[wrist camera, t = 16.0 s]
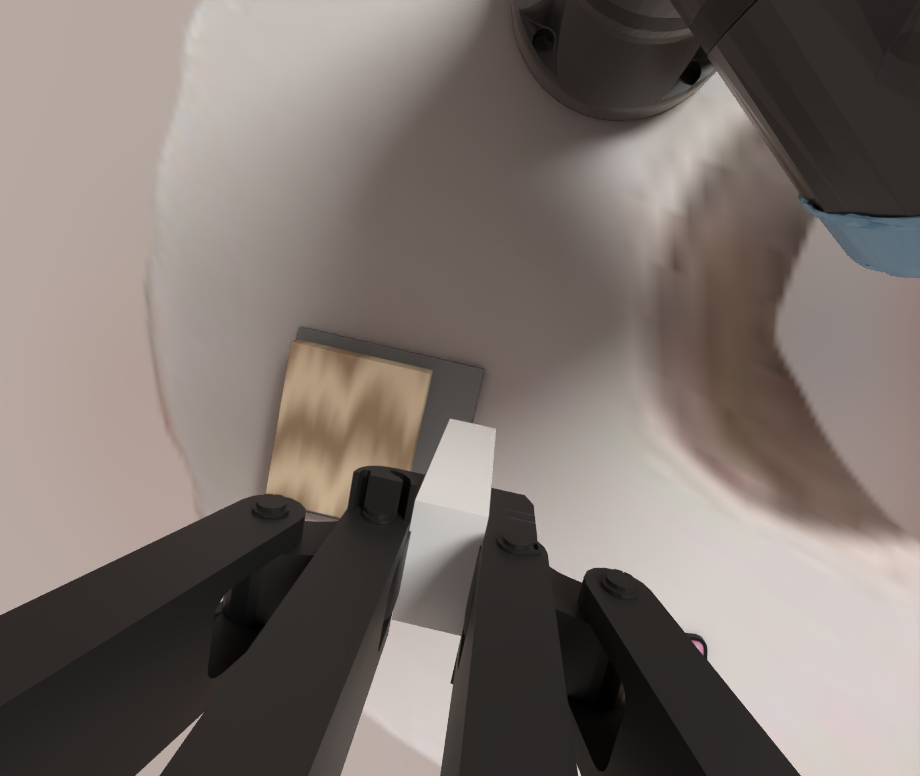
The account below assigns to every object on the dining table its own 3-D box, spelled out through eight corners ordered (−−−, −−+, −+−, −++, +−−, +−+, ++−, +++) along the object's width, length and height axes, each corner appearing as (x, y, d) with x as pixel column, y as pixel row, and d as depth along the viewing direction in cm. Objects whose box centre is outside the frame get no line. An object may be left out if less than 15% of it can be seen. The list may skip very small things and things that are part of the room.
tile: (433, 370, 40) (301, 339, 40) (430, 373, 38) (291, 341, 38) (400, 519, 42) (275, 490, 42) (395, 531, 40) (264, 500, 40)
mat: (301, 326, 40) (298, 327, 40) (484, 369, 40) (484, 370, 40) (271, 500, 43) (268, 503, 42) (443, 540, 43) (443, 544, 42)
